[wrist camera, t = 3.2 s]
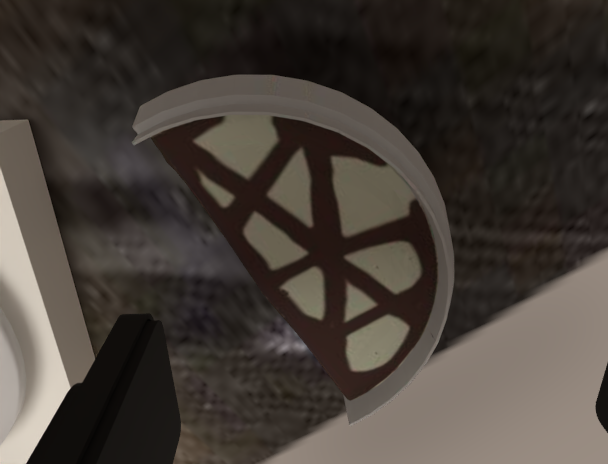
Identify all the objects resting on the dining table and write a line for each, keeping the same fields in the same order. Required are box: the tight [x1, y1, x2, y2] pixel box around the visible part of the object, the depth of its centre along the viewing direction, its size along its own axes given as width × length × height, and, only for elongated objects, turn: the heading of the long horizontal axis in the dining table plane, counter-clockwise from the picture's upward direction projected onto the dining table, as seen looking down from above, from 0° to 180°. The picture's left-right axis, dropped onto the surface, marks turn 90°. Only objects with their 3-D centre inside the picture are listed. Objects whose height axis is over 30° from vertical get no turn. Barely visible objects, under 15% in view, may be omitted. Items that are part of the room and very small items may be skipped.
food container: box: [132, 75, 454, 426], centre depth 18 cm, size 12×6×10 cm, turn 31°
